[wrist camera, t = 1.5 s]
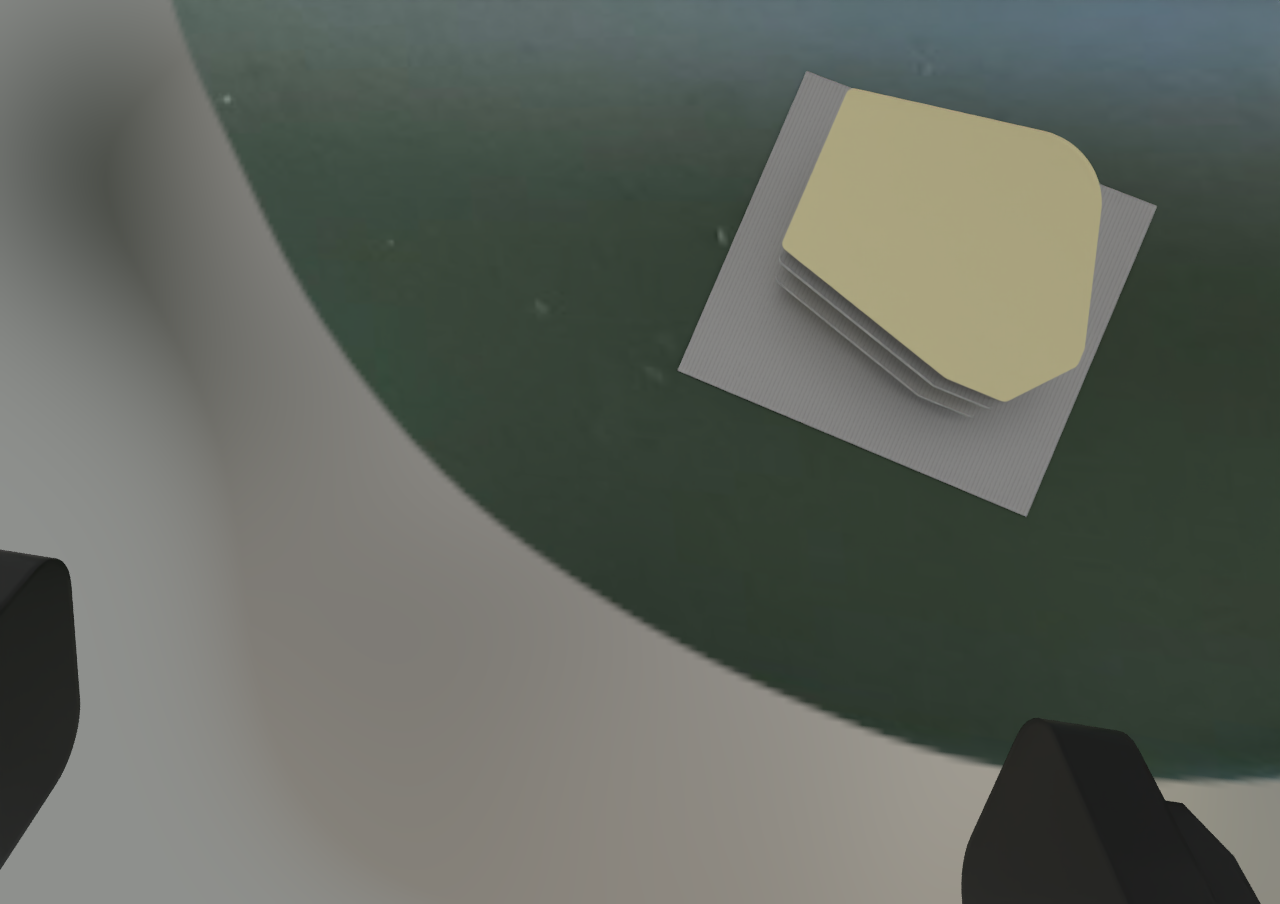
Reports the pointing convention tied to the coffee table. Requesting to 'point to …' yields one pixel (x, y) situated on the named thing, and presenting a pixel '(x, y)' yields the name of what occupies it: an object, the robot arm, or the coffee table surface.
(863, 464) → the coffee table surface
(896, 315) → the stacked layers on plate
